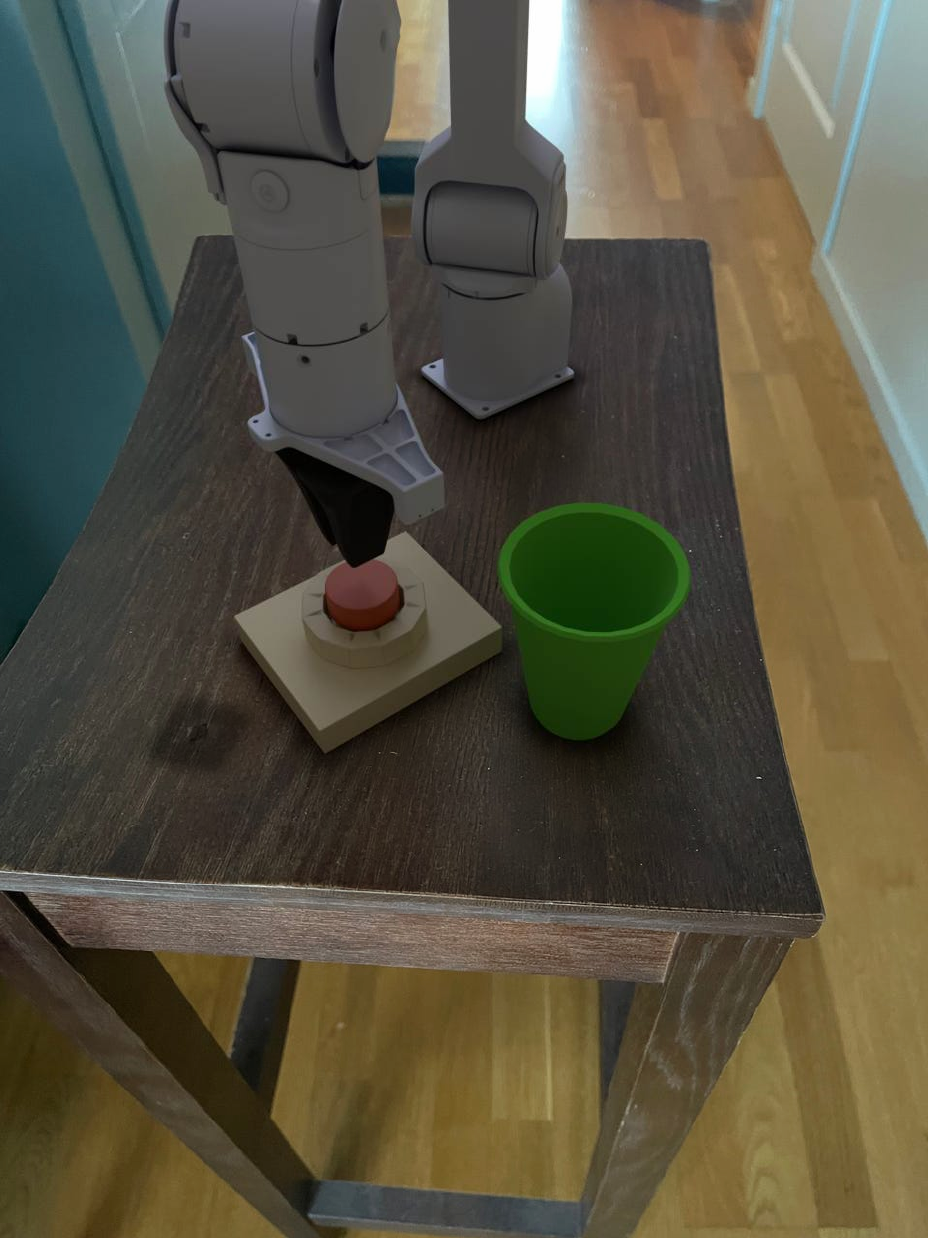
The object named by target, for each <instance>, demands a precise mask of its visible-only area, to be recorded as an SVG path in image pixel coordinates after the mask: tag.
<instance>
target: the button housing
mask: <svg viewBox="0 0 928 1238" xmlns="http://www.w3.org/2000/svg"><path fill="white" fill-rule="evenodd" d="M374 560H378V561H381V562H383V563H385V564H387V565H388V566H389V567H390V568H391V569H392V570H393V571H394V572H395V574H396V577H397V581H398V590H399V599H400V605H399V609H398V611H397V613H396V615H395V616H394V618H393V619H392V620H391V621H389V622H388V623H387V624H385V625H384V626H382V627H380V628H377V629H374V630H369V631H353V630H349V629H346V628H344V627H342V626H340V625H338V624H337V623H336V622H335V621H334V620H333V619H332V617H331V615H330V613H329V609H328V604H327V599H326V593H325V583H326V580H327V577H328V576H329V574H330V573H331V572H332V571H333V570H334V569H335V568H336V567H337V566H339V565H341V564H342V563H345V562H346V561H345V559H343V560H341V561H339V562H337V563H335V564H333V565H331V566H329V567H327V568H325V569H323V570H321V571H319V572H318V573H317V574H316V575H314V576H312V577H310V578H308V579H306V580H304V581H302V582H300V583H298V584H296V585H294V586H292V587H290V588H287V589H286V590H284V591H282V592H279V593H278V594H275V595H273V596H271V597H269V598H268V599H266V600H263V601H261V602H259V603H258V604H256V605H254V606H252V607H250V608H247V609H246V610H244V611H242V612H239V613H237V614H236V615H233V619H234V623H235V627H236V629H237V632H238V635H239V638H240V639H239V640H240V641H241V642H242V644H243V645H244V647H245V648H246V649H247V651H248V652H249V654H250V655H251V657H252V658H253V659H254V660H255V662H256V663H257V665H258V666H259V667H260V668H261V670H262V671H263V672H264V674H265V675H266V676H267V678H268V679H269V681H270V682H271V684H272V685H273V686H274V687H275V689H276V690H277V691H278V692H279V693H278V694H280V696H281V697H282V698H283V699H284V701H285V702H286V703H287V705H288V706H289V708H290V709H291V711H292V712H293V713H294V714H295V715H296V717H297V718H298V720H299V721H300V722H301V724H302V726H303V727H304V728H305V729H306V730H307V732H308V733H309V734H310V736H311V737H312V739H313V740H314V741H315V743H316V744H317V745H318V747H319V748H320V749H321V751H322V752H323V753H324V754H327V753H329V752H331V751H333V750H334V749H336V748H337V747H340V746H342V745H343V744H344V743H346V742H348V741H350V740H351V739H353V738H355V737H357V736H359V735H360V734H362V733H364V732H365V731H367V730H369V729H370V728H373V727H374V726H376V725H378V724H379V723H381V722H383V721H384V720H387V719H388V718H389V717H391V716H393V715H394V714H397V713H398V712H400V711H401V710H403V709H405V708H406V707H408V706H410V705H412V704H414V703H415V702H417V701H419V700H420V699H422V698H423V697H425V696H428V695H429V694H430V693H432V692H434V691H435V690H437V689H439V688H441V687H442V686H445V685H446V684H448V683H449V682H452V681H453V680H455V679H457V678H458V677H461V675H463V674H465V673H466V672H469V671H470V670H472V669H473V668H476V667H477V666H478V665H481V664H483V663H485V662H486V661H487V660H489V659H490V658H492V657H494V656H496V655H497V654H499V653H501V652H502V649H503V627H502V625H501V624H500V623H499V622H498V621H497V620H496V619H495V618H494V617H493V616H491V614H490V613H489V612H488V611H487V610H485V608H484V607H482V605H480V603H479V602H478V601H477V600H476V599H475V598H474V597H473V596H471V595H470V593H469V592H468V591H467V590H466V589H464V588H463V586H462V585H460V583H458V582H457V581H456V579H455V578H453V576H452V575H451V574H450V573H449V572H448V571H447V570H445V569H444V568H443V566H441V565H440V563H438V561H437V560H435V559H434V558H433V557H432V556H431V555H430V554H429V553H428V551H426V549H424V548H423V547H422V545H420V543H419V542H417V540H415V539H414V537H412V535H410V534H409V533H408V532H407V531H406V530H405V531H403V532H401V533H399V534H397V535H395V536H393V537H391V538H390V539H389V538H388V540H387V545H386V549H385V552H384V554H382V555H380V556H378V557H376V558H374Z"/></svg>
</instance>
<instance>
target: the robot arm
mask: <svg viewBox="0 0 928 1238" xmlns="http://www.w3.org/2000/svg"><path fill="white" fill-rule="evenodd" d="M167 1H168V2H167V6H166V8H165V9H166V10H165V15H164V22H163V24H164V25H163V53H164V54H163V55H164V63H165V64H164V65H165V71H166V79H165V80H164V81H163V90H164V93H165V97H166V101H167V103H168V106H169V109H170V111H171V114H172V116H173V119H174V121H175V123H176V125H177V127H178V129H179V130H180V132H181V134H182V135H183V136H184V138H185V139H186V140H187V141H188V143H189V144H190V145H191V146H192V147H193V149H194V151H195V152H196V153H197V155H198V158H199V160H200V163H201V167H202V170H203V174H204V178H205V183H206V188H207V192H208V193H210V194H212V196H213V199H214V200H215V201H216V202H219V203H220V205H223V206H226V208H227V212H228V218H229V222H230V226H231V227H230V228H231V232H232V235H233V240H234V245H235V250H236V255H237V258H238V265H239V268H240V273H241V274H240V275H241V278H242V283H243V288H244V293H245V297H246V302H247V306H248V312H249V316H250V320H251V324H252V329H253V331H252V332H249V333H247V334H244V335H242V336H241V337H240V338H241V342H242V346H243V351H244V355H245V360H246V365H247V369H248V371H249V372H250V373H251V374H252V375H253V376H254V377H256V378H257V379H258V384H259V388H260V392H261V396H262V401H263V405H264V410H263V411H262V412H260V413H258V414H256V415H253V416H252V417H250V418H249V419H248V421H247V422H246V424H247V425H246V426H247V429H248V433H249V436H250V437H251V439H252V440H253V441H254V443H256V444H257V445H258V446H259V447H260V448H261V449H262V451H265V452H267V453H269V452H271V453H275V454H276V456H277V457H278V458H279V459H280V460H281V461H282V463H283V464H284V466H285V467H286V469H287V470H288V471H289V473H290V474H291V476H292V478H293V479H294V481H295V482H296V485H297V486H298V489H299V490H300V492H301V494H302V496H303V498H304V500H305V502H306V504H307V506H308V508H309V511H310V512H311V513H310V514H311V516H312V517H313V519H314V521H315V523H316V525H317V527H318V529H319V531H320V533H321V534H322V536H323V538H324V539H325V540H326V542H328V544H329V545H330V546H331V547H333V546H337V547H338V548H337V549H338V550H339V552H340V555H341V557H342V558H343V560H345V561H346V562H347V563H348V564H349V565H350V566H351V568H356V567H358V566H360V565H362V564H364V563H366V562H368V561H370V560H372V559H374V558H376V557H378V556H380V555H382V554H384V552H385V549H386V545H387V540H389V535H390V531H391V526H392V522H393V518H394V514H395V516H396V517H397V518H398V519H399V520H400V521H401V522H402V523H403V525H406V526H410V525H412V524H414V523H415V522H417V521H420V520H423V519H425V518H427V517H429V516H431V515H433V514H434V513H437V512H438V511H440V510H442V509H444V508H445V507H446V501H445V498H446V497H445V478H444V476H445V475H444V472H443V471H442V469H440V468H439V466H437V465H436V464H435V462H434V461H433V460H432V459H431V458H430V456H429V454H428V452H427V449H426V448H425V446H424V444H423V442H422V438H421V435H420V434H419V432H418V429H417V426H416V424H415V421H414V419H413V417H412V413H411V412H410V410H409V406H408V404H407V403H406V399H405V397H404V394H403V393H402V390H401V388H400V386H399V384H398V382H397V381H396V380H397V379H396V370H395V358H394V346H393V334H392V322H391V309H390V302H389V301H390V299H389V289H388V279H387V277H388V276H387V266H386V253H385V243H384V242H385V241H384V231H383V229H384V228H383V219H382V218H383V217H382V206H381V205H382V204H381V193H380V184H379V182H380V181H379V172H378V161H377V160H378V159H377V156H378V154H379V152H380V150H381V148H382V147H383V144H384V142H385V139H386V136H387V133H388V130H389V128H390V125H391V120H392V114H393V109H394V101H395V90H396V70H397V69H396V67H397V66H396V65H397V54H398V49H399V43H400V40H401V27H402V18H401V14H400V13H401V12H400V10H399V5H398V0H167ZM447 14H448V15H447V16H448V57H449V59H448V60H449V105H450V106H449V107H450V125H449V126H448V127H447V128H444V130H442V131H441V132H440V133H438V134H437V135H436V136H435V137H433V138H432V139H430V141H429V142H428V143H426V145H425V146H424V148H423V149H422V151H421V154H420V155H419V158H418V160H417V163H416V165H415V168H414V195H413V201H412V206H411V217H410V219H411V220H410V227H411V228H410V232H411V242H412V246H413V250H414V252H415V254H416V256H417V257H418V259H419V262H421V263H422V265H424V266H428V267H431V280H432V282H437V283H439V293H440V294H439V296H440V316H441V317H440V319H441V322H440V323H441V347H442V358H441V359H438V360H436V361H434V362H430V363H428V364H427V365H423V366H422V367H421V368H420V370H421V372H420V373H421V375H422V376H423V377H424V378H425V379H427V380H428V381H429V382H430V383H432V384H433V385H434V386H436V387H437V388H438V389H439V390H440V391H442V392H443V393H444V394H445V395H447V396H448V397H449V398H450V399H451V400H453V401H454V402H455V403H456V404H458V405H459V406H460V407H461V408H463V409H464V410H465V411H466V412H467V413H469V414H470V415H471V416H473V417H474V418H475V419H477V420H484V419H486V418H489V417H490V416H493V415H495V414H497V413H500V412H501V411H504V410H506V409H508V408H510V407H512V406H514V405H517V404H519V403H521V402H523V401H525V400H528V399H530V398H533V397H534V396H536V395H539V394H541V393H543V392H545V391H547V390H550V389H552V388H555V387H557V386H558V385H560V384H563V383H565V382H567V381H569V380H572V379H573V378H574V377H575V371H574V370H573V368H570V367H569V366H568V363H569V352H570V351H569V350H570V340H571V339H570V336H571V325H572V313H573V293H572V288H571V287H572V286H571V283H570V280H569V277H568V275H567V272H566V270H565V268H564V266H563V265H562V264H561V263H560V261H561V258H562V253H563V249H564V244H565V238H566V231H567V222H568V205H569V204H568V203H569V201H568V200H569V199H568V193H567V190H566V189H567V188H566V186H567V185H566V184H567V183H566V181H567V164H566V162H565V155H564V153H563V152H562V151H561V150H560V149H559V148H558V146H556V145H555V144H554V143H552V142H551V141H550V140H549V139H547V138H546V137H545V136H544V135H543V134H541V133H540V132H539V131H538V129H536V128H534V127H533V126H532V125H531V124H530V123H529V122H528V120H527V119H526V118H527V117H526V116H527V88H528V87H527V86H528V85H527V84H528V56H529V53H528V52H529V27H530V24H529V23H530V0H447Z"/></svg>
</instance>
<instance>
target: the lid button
mask: <svg viewBox="0 0 928 1238" xmlns="http://www.w3.org/2000/svg"><path fill="white" fill-rule="evenodd" d="M325 593H326V599H327V604H328V609H329V613H330V615H331V617H332V619H333V620H334V621H335V622H336V623H337V624H338V625H340V626H342V627H344V628H346V629H349V630H353V631H369V630H374V629H377V628H380V627H382V626H384V625H385V624H387V623H388V622H389V621H391V620H392V619H393V618H394V616H395V615H396V613H397V611H398V609H399V605H400V599H399V590H398V581H397V577H396V574H395V572H394V571H393V570H392V569H391V568H390V567H389V566H388V565H387V564H385V563H383V562H381V561H378V560H374V559H372V560H370V561H368V562H366V563H364V564H362V565H360V566H358V567H356V568H351V566H350V565H349V564H348V563H347V562H345V563H342V564H341V565H339V566H337V567H336V568H335V569H334V570H333V571H332V572H331V573H330V574H329V576H328V577H327V580H326V583H325Z"/></svg>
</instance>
